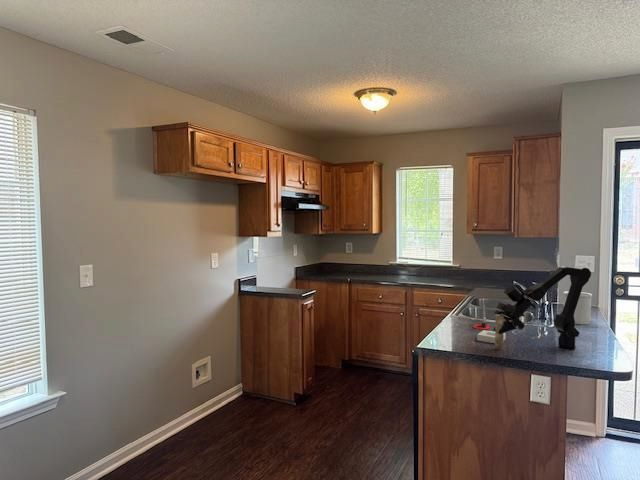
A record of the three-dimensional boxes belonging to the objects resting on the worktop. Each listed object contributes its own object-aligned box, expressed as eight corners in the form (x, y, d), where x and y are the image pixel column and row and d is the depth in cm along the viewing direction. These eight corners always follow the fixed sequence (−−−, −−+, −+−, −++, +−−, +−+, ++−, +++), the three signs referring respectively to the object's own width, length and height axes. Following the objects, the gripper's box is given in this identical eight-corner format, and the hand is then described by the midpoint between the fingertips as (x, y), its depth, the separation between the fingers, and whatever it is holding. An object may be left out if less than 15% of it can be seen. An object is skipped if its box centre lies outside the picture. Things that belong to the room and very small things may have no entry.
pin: (503, 348, 205) (504, 315, 204) (502, 350, 202) (502, 316, 201) (496, 347, 207) (496, 314, 206) (494, 349, 204) (494, 315, 203)
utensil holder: (564, 318, 270) (564, 290, 269) (592, 321, 261) (592, 292, 260) (560, 322, 258) (561, 293, 257) (590, 326, 249) (591, 296, 248)
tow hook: (485, 331, 238) (492, 327, 245) (485, 308, 237) (491, 305, 244) (470, 329, 244) (477, 325, 251) (470, 306, 243) (477, 303, 250)
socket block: (505, 339, 221) (505, 333, 221) (500, 344, 212) (500, 338, 212) (483, 335, 228) (483, 330, 228) (477, 340, 219) (477, 334, 219)
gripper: (498, 293, 213) (476, 315, 213) (518, 300, 194) (494, 325, 194) (513, 309, 214) (491, 331, 214) (534, 317, 195) (510, 342, 195)
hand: (496, 332), depth 204 cm, fingers open, 4 cm apart
